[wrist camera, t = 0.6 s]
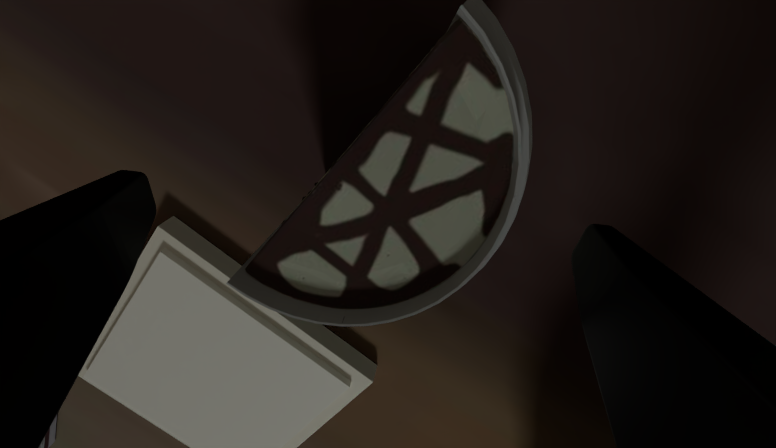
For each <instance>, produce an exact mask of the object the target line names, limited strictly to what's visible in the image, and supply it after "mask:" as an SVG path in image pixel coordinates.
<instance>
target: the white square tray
mask: <svg viewBox="0 0 776 448" xmlns="http://www.w3.org/2000/svg"><path fill="white" fill-rule="evenodd" d="M241 267H242V266H241V265H240V264H239V263H237V262H236V261H235V260H233V259H232V258H231V257H229V256H228V255H226V254H225V253H224V252H222V251H221V250H220V249H218V248H217V247H216V246H214V245H213V244H211V243H210V242H209V241H207V240H206V239H205V238H203V237H202V236H201V235H199V234H198V233H197V232H195V231H194V230H192V229H191V228H190V227H188V226H187V225H186V224H184V223H183V222H182V221H180V220H179V219H177V218H176V217H175V216H173V217H171V218H169V219H168V220H166V221H165V222H163V223H162V224H160V225H159V226H158V227H157V228H156V230H155V232H154V233H153V235H152V237H151V238H150V240H149V242H148V244H147V245H146V247H145V249H144V250H143V252H142V254H141V255H140V257H139V259H138V261H137V264H136V266H135V269H134V271H133V274H132V276H131V278H130V280H129V282H128V284H127V286H126V288H125V290H124V292H123V294H122V296H121V298H120V299H119V301H118V303H117V305H116V307H115V309H114V311H113V312H112V314H111V316H110V318H109V320H108V322H107V323H106V325H105V327H104V329H103V331H102V333H101V334H100V336H99V338H98V340H97V342H96V344H95V345H94V347H93V349H92V351H91V353H90V355H89V356H88V358H87V360H86V362H85V364H84V366H83V367H82V369H81V371H80V373H79V375H78V376H79V377H81V378H82V379H84V380H86V381H87V382H89V383H90V384H92V385H93V386H95V387H96V388H98V389H100V390H101V391H103V392H104V393H106V394H107V395H109V396H110V397H112V398H114V399H115V400H117V401H118V402H120V403H121V404H123V405H124V406H126V407H128V408H129V409H131V410H132V411H134V412H135V413H137V414H138V415H140V416H142V417H143V418H145V419H146V420H148V421H149V422H151V423H152V424H154V425H156V426H157V427H159V428H160V429H162V430H163V431H165V432H167V433H168V434H170V435H171V436H173V437H174V438H176V439H177V440H179V441H181V442H182V443H184V444H185V445H187V446H188V447H190V448H297V447H298V446H299V445H300V444H301V443H303V442H304V441H305V440H306V439H307V438H308V437H310V436H311V435H312V434H313V433H314V432H315V431H317V430H318V429H319V428H320V427H321V426H322V425H324V424H325V423H326V422H327V421H328V420H329V419H331V418H332V417H333V416H334V415H335V414H336V413H338V412H339V411H340V410H341V409H342V408H343V407H345V406H346V405H347V404H348V403H349V402H350V401H352V400H353V399H354V398H355V397H356V396H357V395H359V394H360V393H361V392H362V391H363V390H364V389H366V388H367V387H368V386H369V385H370V384H371V383H373V380H374V376H375V372H376V368H377V365H376V364H375V363H374V362H372V361H371V360H370V359H368V358H367V357H365V356H364V355H363V354H361V353H360V352H359V351H357V350H356V349H355V348H353V347H352V346H350V345H349V344H348V343H346V342H345V341H344V340H342V339H341V338H340V337H338V336H337V335H335V334H334V333H333V332H331V331H330V330H329V329H327V328H326V327H325V326H323V325H322V324H316V323H312V322H308V321H303V320H299V319H295V318H292V317H289V316H286V315H284V314H281V313H278V312H276V311H273V310H270V309H268V308H266V307H264V306H262V305H260V304H258V303H256V302H254V301H253V300H251V299H249V298H247V297H245V296H244V295H242V294H241V293H239V292H238V291H236V290H235V289H233V288H232V287H230V286H229V285H228V284H226V283H227V282H228V281H229V280H230V279H231V277H232V276H233V275H234V274H235V273H236V272H237V271H238V270H239V269H240V268H241Z"/></svg>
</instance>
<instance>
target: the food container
mask: <svg viewBox="0 0 776 448" xmlns="http://www.w3.org/2000/svg"><path fill="white" fill-rule="evenodd" d="M531 151H532V113H531V108H530V102H529V97H528V91H527V86H526V81H525V78H524V75H523V73H522V70H521V67H520V64H519V62H518V59H517V56H516V53H515V51H514V48H513V46H512V45H511V43H510V41H509V39H508V38H507V36H506V34H505V32H504V31H503V29H502V27H501V25H500V23H499V22H498V20H497V18H496V17H495V16H494V14H493V13H492V12H491V11H490V9H489V8H488V7H487V6H486V4H485V3H484V2H483V1H482V0H467V1H466V2H465V3H464V4H463V5H461V6H460V7H459V9H458V11H457V13H456V15H455V17H454V19H453V21H452V23H451V24H450V26H449V28H448V30H447V32H446V33H445V34H444V35H443V36H442V37H441V38H440V39H439V40H438V41H437V43H436V44H435V45H434V46H432V47H431V48H430V52H429V53H427V55H426V57H425V58H424V59H423V60H422V61H421V62H420V64H419V65H418V66H417V67H416V68H415V70H414V71H412V72H410V73H409V74H408V78H407V79H406V80H405V81H404V82H403V83H402V84H401V85H400V86H399V88H398V89H397V90H396V91H395V92H394V94H393V95H392V96H391V97H390V99H389V100H388V101H387V102H386V104H385V105H384V106H383V107H382V109H381V110H379V112H378V113H377V115H376V116H375V117H374V118H373V119H372V120H371V122H370V123H369V124H367V125H365V126H364V127H363V129H362V131H361V132H360V134H359V136H358V137H357V138H356V139H355V140H354V142H353V143H352V144H351V145H350V146H349V147H348V149H347V150H346V151H345V152H343V153H342V154H341V157H340V158H338V159H337V160H336V161H334V162H333V163H332V165H331V167H330V168H329V171H328V172H327V173H326V174H325V175H324V176H323V178H322V179H321V180H320V181H319V182H317V183H315V187H314V188H313V190H311V191H310V192H309V193H308V195H307V196H305V197H303V199H302V202H301V203H300V204H299V205H298V206H297V207H296V208H295V209H294V210H293V211H292V212H291V214H290V215H289V216H288V217H287V218H286V219H285V220H284V221H283V222H282V223H281V224H280V225H279V227H278V228H277V229H276V230H275V231H274V232H273V233H272V234H271V235H270V236H269V237H268V238H267V240H266V241H265V242H264V243H263V244H262V245H261V246H260V247H259V248H258V249H257V250H256V251H255V253H254V254H253V255H252V256H251V257H250V258H249V259H248V260H247V261H246V262H245V263H244V264H243V266H242V267H241V268H240V269H239V270H238V271H237V272H236V273H235V274H234V275H233V276H232V277H231V279H230V280H229V281H228V282H227V283H226V284H228V285H229V286H230V287H232V288H233V289H235V290H236V291H238V292H239V293H241V294H242V295H244V296H245V297H247V298H249V299H251V300H253V301H254V302H256V303H258V304H260V305H262V306H264V307H266V308H268V309H270V310H273V311H276V312H278V313H281V314H284V315H286V316H289V317H292V318H295V319H299V320H303V321H308V322H312V323H316V324H324V325H333V326H370V325H376V324H382V323H388V322H393V321H396V320H399V319H403V318H406V317H409V316H412V315H415V314H418V313H420V312H422V311H424V310H426V309H428V308H430V307H432V306H434V305H436V304H438V303H440V302H441V301H443V300H444V299H445V298H447V297H448V296H450V295H451V294H453V293H454V292H456V291H457V290H459V289H460V288H461V287H462V286H463V285H465V284H466V283H467V282H468V281H469V280H470V279H471V278H472V277H473V276H474V275H475V274H476V273H477V272H478V271H480V270H481V269H482V268H483V267H484V266H485V265H486V263H487V262H488V261H489V259H490V258H491V257H492V255H493V254H494V253H495V251H496V250H497V249H498V248H499V246H500V245H501V244H502V242H503V240H504V238H505V236H506V234H507V232H508V230H509V228H510V227H511V225H512V223H513V221H514V219H515V216H516V213H517V210H518V207H519V204H520V201H521V198H522V195H523V192H524V189H525V185H526V181H527V177H528V171H529V164H530V157H531Z"/></svg>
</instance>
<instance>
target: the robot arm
mask: <svg viewBox="0 0 776 448" xmlns="http://www.w3.org/2000/svg"><path fill="white" fill-rule="evenodd" d="M155 215H156V205H155V201H154V198H153V194H152V191H151V188H150V184H149V181H148V178H147V176H146V175H145V174H144V173H142V172H137V171H128V170H120V171H117V172H115V173H112V174H110V175H108V176H105V177H103V178H100V179H98V180H96V181H93V182H91V183H88V184H86V185H84V186H81V187H79V188H77V189H74V190H72V191H69V192H67V193H65V194H62V195H60V196H57V197H55V198H53V199H50V200H48V201H45V202H43V203H41V204H38V205H36V206H34V207H31V208H29V209H26V210H24V211H22V212H19V213H17V214H14V215H12V216H10V217H7V218H5V219H2V220H0V448H39V447H40V445H41V443H42V441H43V439H44V437H45V435H46V434H47V432H48V430H49V428H50V426H51V424H52V423H53V421H54V419H55V417H56V415H57V413H58V412H59V410H60V408H61V406H62V404H63V402H64V401H65V399H66V397H67V395H68V393H69V391H70V390H71V388H72V386H73V384H74V382H75V380H76V379H77V377H78V375H79V373H80V371H81V369H82V367H83V366H84V364H85V362H86V360H87V358H88V356H89V355H90V353H91V351H92V349H93V347H94V345H95V344H96V342H97V340H98V338H99V336H100V334H101V333H102V331H103V329H104V327H105V325H106V323H107V322H108V320H109V318H110V316H111V314H112V312H113V311H114V309H115V307H116V305H117V303H118V301H119V299H120V298H121V296H122V294H123V292H124V290H125V288H126V286H127V284H128V282H129V280H130V278H131V276H132V274H133V271H134V269H135V266H136V264H137V261H138V259H139V256H140V254H141V251H142V249H143V246H144V244H145V241H146V239H147V236H148V233H149V231H150V228H151V226H152V223H153V221H154V218H155ZM571 261H572V269H573V275H574V281H575V287H576V293H577V299H578V306H579V312H580V317H581V322H582V327H583V331H584V335H585V338H586V342H587V345H588V349H589V352H590V356H591V359H592V363H593V366H594V370H595V373H596V377H597V380H598V384H599V388H600V391H601V395H602V398H603V402H604V405H605V409H606V412H607V416H608V419H609V423H610V426H611V430H612V433H613V437H614V440H615V444H616V447H617V448H776V346H775V345H773V344H772V343H771V342H769V341H768V340H767V339H765V338H764V337H762V336H761V335H760V334H758V333H757V332H756V331H754V330H753V329H751V328H750V327H749V326H747V325H746V324H745V323H743V322H742V321H741V320H739V319H738V318H736V317H735V316H734V315H732V314H731V313H730V312H728V311H727V310H725V309H724V308H723V307H721V306H720V305H719V304H717V303H716V302H715V301H713V300H712V299H710V298H709V297H708V296H706V295H705V294H704V293H702V292H701V291H700V290H698V289H697V288H695V287H694V286H693V285H691V284H690V283H689V282H687V281H686V280H684V279H683V278H682V277H680V276H679V275H678V274H676V273H675V272H674V271H672V270H671V269H669V268H668V267H667V266H665V265H664V264H663V263H661V262H660V261H659V260H657V259H656V258H654V257H653V256H652V255H650V254H649V253H648V252H646V251H645V250H644V249H642V248H641V247H639V246H638V245H637V244H635V243H634V242H633V241H631V240H630V239H628V238H627V237H626V236H624V235H623V234H622V233H620V232H619V231H618V230H616V229H615V228H613V227H612V226H609V225H600V224H591V225H589V226H588V227H587V228H586V230H585V231H584V233H583V235H582V237H581V238H580V240H579V242H578V244H577V245H576V247H575V249H574V251H573V253H572V260H571Z"/></svg>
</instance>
